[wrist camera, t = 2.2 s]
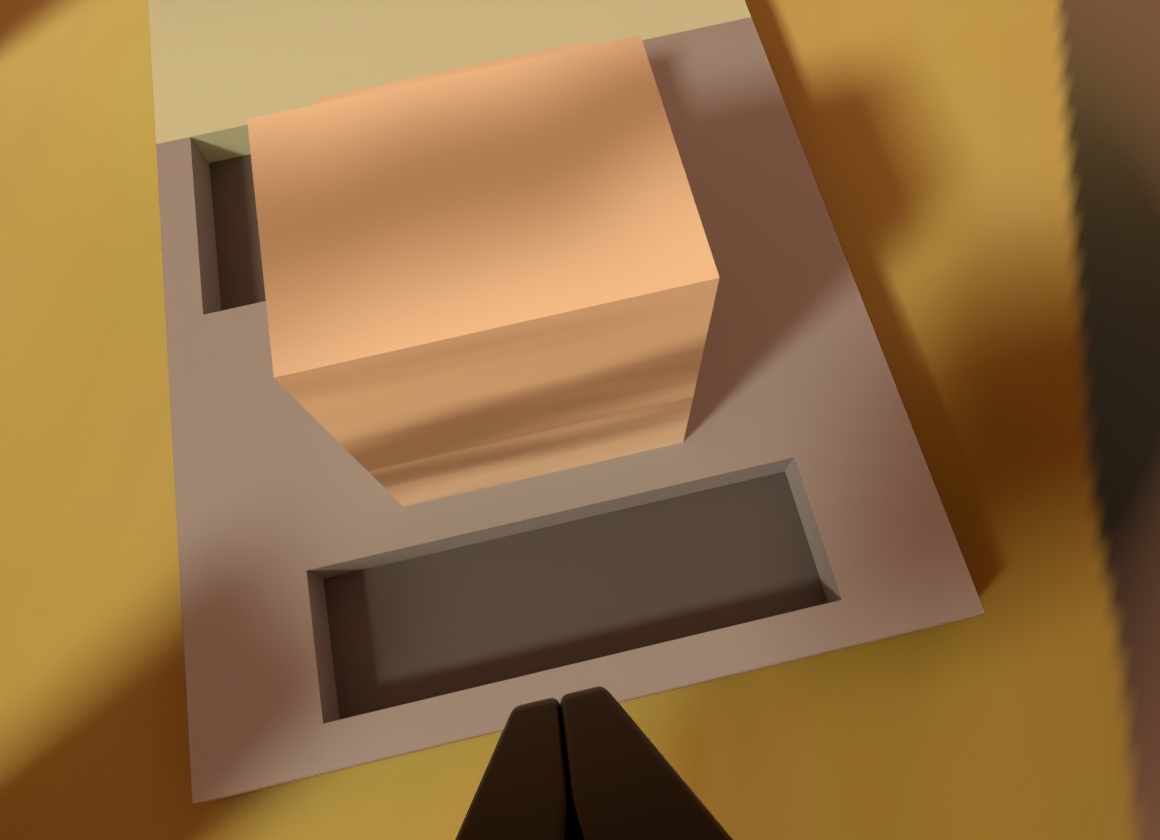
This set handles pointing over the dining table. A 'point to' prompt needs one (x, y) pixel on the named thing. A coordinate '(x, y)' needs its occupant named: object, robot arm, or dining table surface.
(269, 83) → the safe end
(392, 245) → the birch block
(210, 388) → the board
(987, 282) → the dining table surface
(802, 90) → the dining table surface
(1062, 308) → the dining table surface
